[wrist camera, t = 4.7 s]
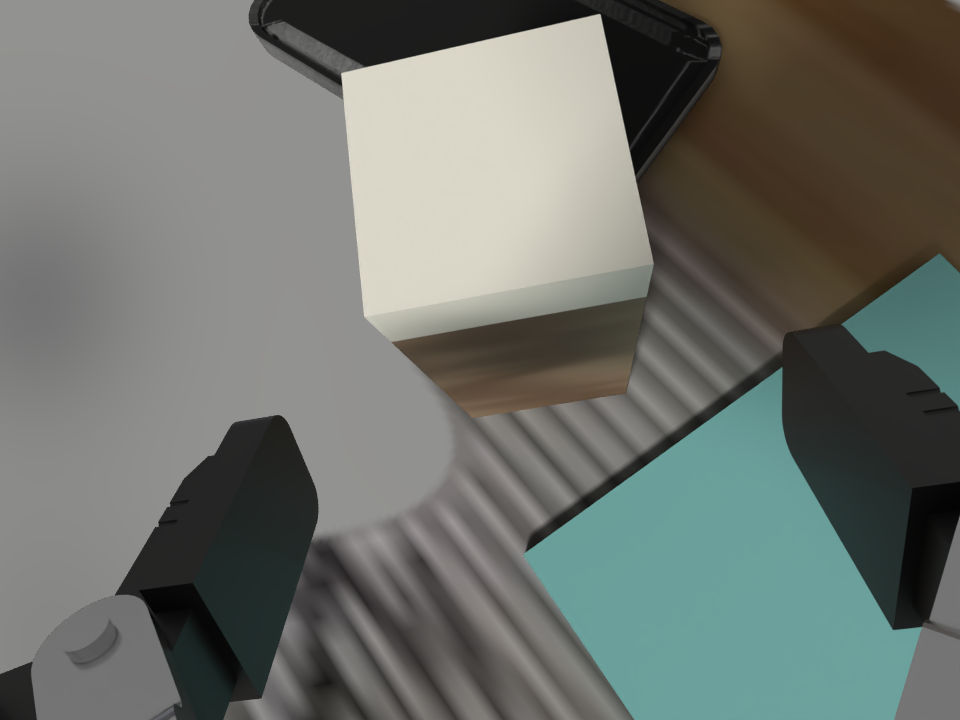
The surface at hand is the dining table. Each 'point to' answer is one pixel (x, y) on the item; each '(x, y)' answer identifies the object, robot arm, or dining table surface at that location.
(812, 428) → the robot arm
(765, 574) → the teal mat
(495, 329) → the walnut block
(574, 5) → the phone
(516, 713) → the dining table surface
